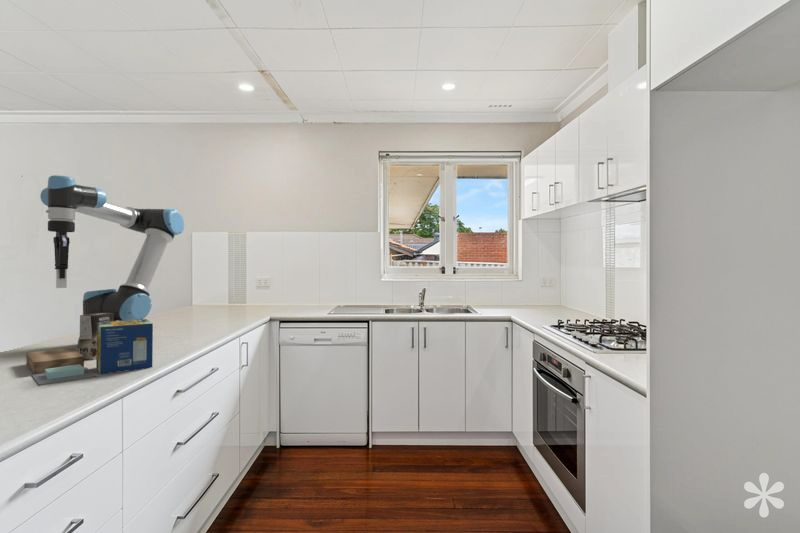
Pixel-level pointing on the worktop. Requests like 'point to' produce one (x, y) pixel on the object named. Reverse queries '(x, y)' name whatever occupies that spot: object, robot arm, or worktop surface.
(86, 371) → the mat
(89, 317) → the coffee box
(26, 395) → the worktop surface
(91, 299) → the robot arm
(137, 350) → the protein box
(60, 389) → the worktop surface
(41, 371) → the brown wooden block
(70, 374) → the mint green rectangular slab
